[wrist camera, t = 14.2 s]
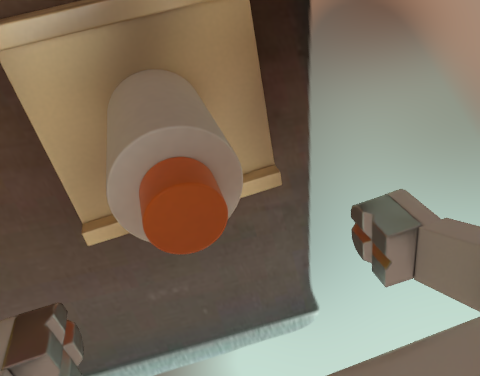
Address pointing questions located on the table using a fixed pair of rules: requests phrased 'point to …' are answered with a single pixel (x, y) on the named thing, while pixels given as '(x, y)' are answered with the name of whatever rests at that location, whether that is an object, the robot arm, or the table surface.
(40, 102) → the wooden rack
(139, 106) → the white bottle
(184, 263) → the table surface
